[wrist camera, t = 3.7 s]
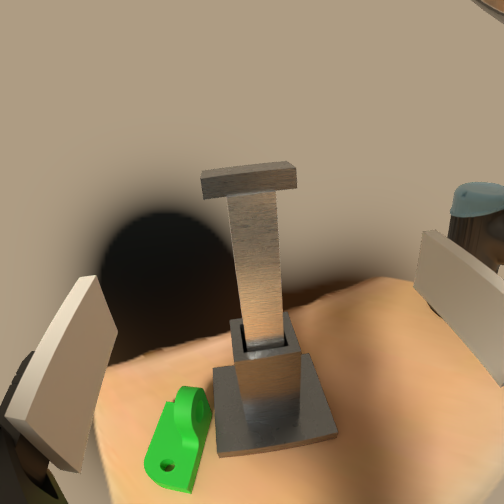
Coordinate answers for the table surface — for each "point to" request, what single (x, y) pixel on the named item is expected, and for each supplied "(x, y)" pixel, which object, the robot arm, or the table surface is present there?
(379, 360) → the table surface
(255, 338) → the column
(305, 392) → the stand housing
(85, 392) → the robot arm
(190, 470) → the mechanical part
